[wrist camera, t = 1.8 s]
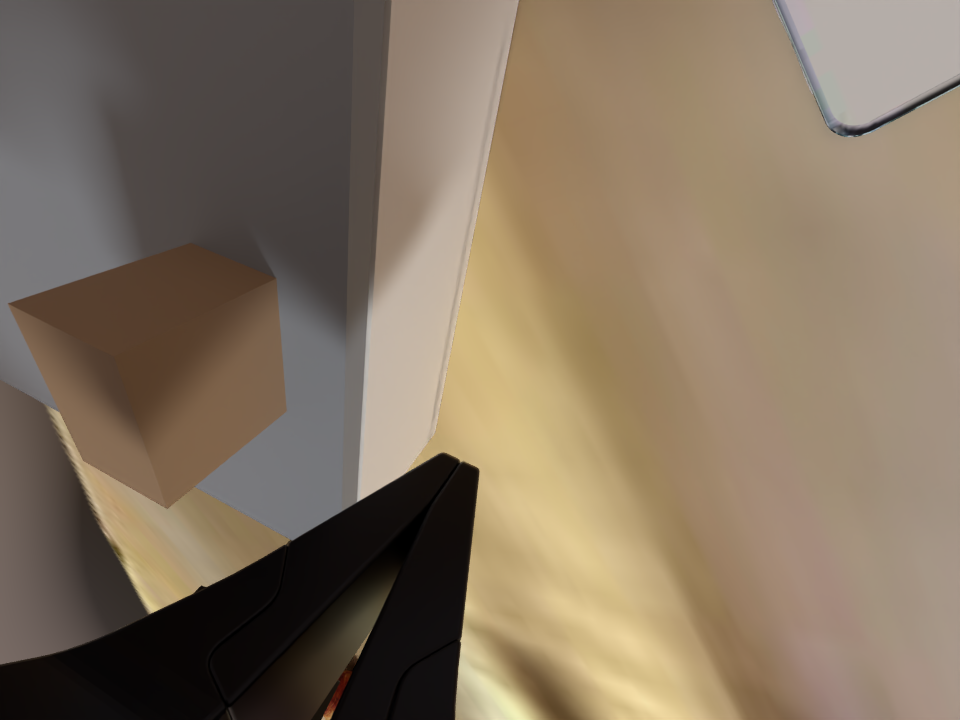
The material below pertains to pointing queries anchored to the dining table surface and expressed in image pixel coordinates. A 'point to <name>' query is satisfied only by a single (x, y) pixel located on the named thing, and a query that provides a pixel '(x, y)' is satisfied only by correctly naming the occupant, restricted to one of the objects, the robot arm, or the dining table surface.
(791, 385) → the dining table surface
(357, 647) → the robot arm
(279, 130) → the lid
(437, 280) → the lidded box
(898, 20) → the smartphone
